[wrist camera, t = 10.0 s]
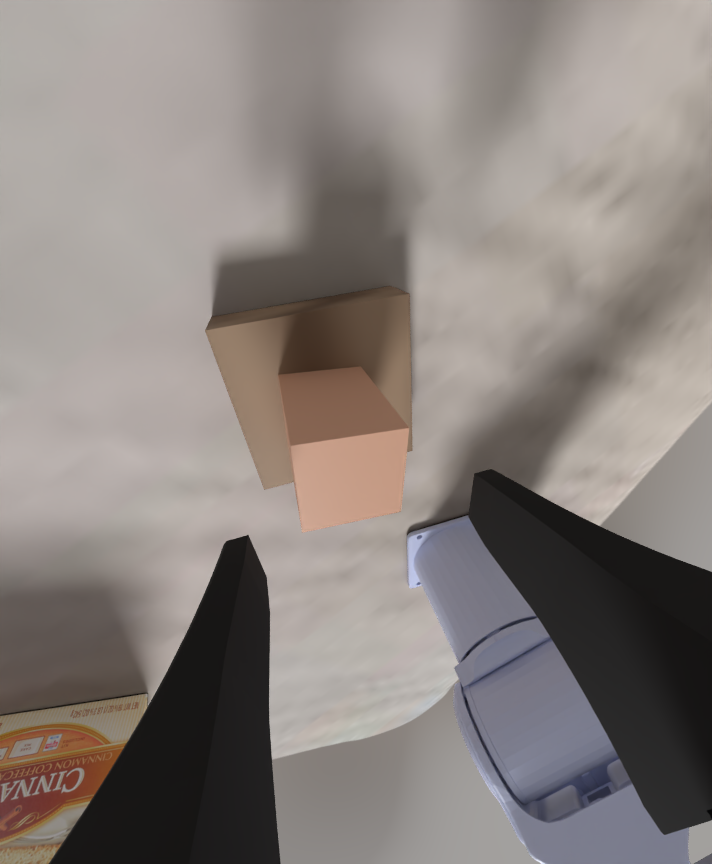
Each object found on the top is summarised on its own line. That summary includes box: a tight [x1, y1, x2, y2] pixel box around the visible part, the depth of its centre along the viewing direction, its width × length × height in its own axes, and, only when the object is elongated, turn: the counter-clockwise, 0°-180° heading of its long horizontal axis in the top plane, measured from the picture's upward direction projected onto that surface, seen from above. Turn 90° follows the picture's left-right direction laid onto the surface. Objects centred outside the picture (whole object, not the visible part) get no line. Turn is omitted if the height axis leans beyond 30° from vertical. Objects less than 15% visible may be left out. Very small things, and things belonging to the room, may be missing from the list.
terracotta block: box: [278, 366, 409, 533], centre depth 14 cm, size 4×4×6 cm
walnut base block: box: [205, 286, 412, 490], centre depth 18 cm, size 9×9×3 cm
